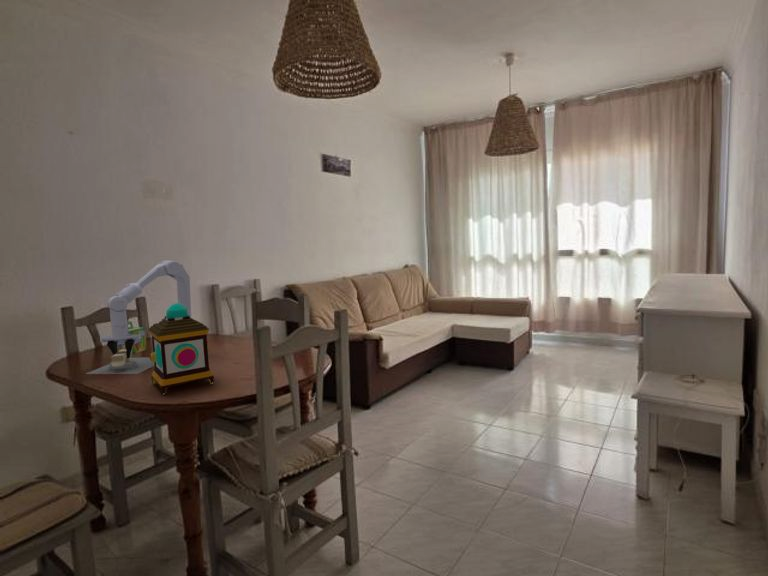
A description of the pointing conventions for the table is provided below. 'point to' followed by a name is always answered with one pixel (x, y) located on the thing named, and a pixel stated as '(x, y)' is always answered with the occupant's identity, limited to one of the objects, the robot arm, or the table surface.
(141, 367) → the mat
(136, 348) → the chalk box
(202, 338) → the decorative lantern
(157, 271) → the robot arm
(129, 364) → the fulcrum
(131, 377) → the table surface
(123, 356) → the beam
